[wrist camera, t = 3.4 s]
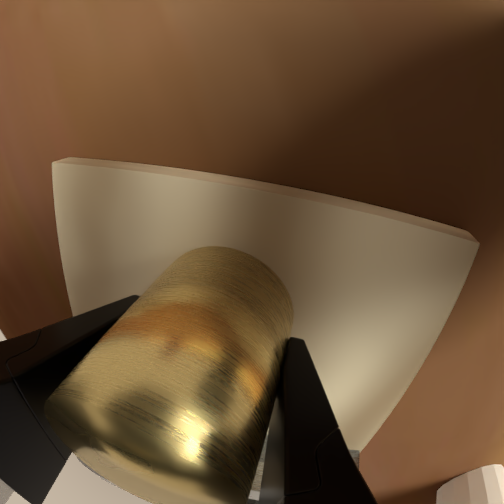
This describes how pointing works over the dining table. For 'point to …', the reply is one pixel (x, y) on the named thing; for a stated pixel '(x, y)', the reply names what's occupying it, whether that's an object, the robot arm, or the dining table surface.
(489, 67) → the dining table surface
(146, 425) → the pin
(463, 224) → the dining table surface
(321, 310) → the board
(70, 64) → the dining table surface
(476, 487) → the white short tapered cylinder
